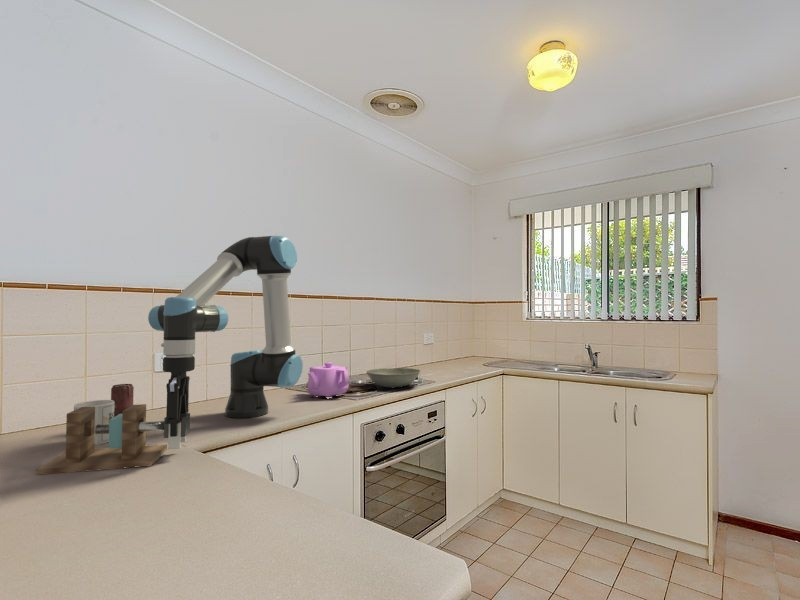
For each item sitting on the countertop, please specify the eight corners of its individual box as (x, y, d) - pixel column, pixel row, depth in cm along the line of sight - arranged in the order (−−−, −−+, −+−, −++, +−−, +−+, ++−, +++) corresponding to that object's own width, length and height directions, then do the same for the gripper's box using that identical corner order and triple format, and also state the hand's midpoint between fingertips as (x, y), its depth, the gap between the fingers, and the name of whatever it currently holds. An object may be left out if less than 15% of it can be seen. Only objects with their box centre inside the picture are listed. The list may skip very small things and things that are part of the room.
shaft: (189, 431, 119) (190, 412, 119) (185, 436, 114) (185, 417, 114) (101, 436, 114) (101, 417, 114) (92, 442, 109) (93, 421, 109)
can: (122, 431, 140) (123, 386, 140) (105, 430, 141) (106, 385, 141) (137, 426, 146) (138, 383, 146) (121, 425, 147) (122, 383, 147)
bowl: (426, 383, 235) (426, 368, 235) (412, 392, 208) (412, 375, 208) (377, 381, 242) (377, 366, 243) (358, 390, 216) (358, 372, 216)
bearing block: (167, 449, 122) (167, 401, 122) (151, 466, 108) (152, 412, 109) (66, 455, 116) (67, 405, 116) (36, 474, 102) (37, 417, 103)
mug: (123, 438, 132) (124, 401, 132) (83, 450, 121) (84, 409, 121) (98, 435, 135) (98, 398, 136) (56, 446, 124) (57, 406, 124)
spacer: (132, 440, 117) (132, 413, 117) (122, 447, 110) (123, 419, 110) (119, 440, 116) (120, 413, 116) (108, 448, 109) (109, 420, 109)
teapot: (307, 401, 188) (308, 365, 188) (305, 393, 206) (305, 360, 206) (352, 399, 193) (353, 364, 193) (346, 391, 211) (347, 359, 211)
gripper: (172, 353, 125) (171, 436, 124) (152, 359, 107) (150, 457, 106) (201, 352, 126) (200, 435, 126) (186, 359, 109) (184, 455, 108)
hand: (177, 445), depth 116 cm, fingers closed on shaft, 5 cm apart
